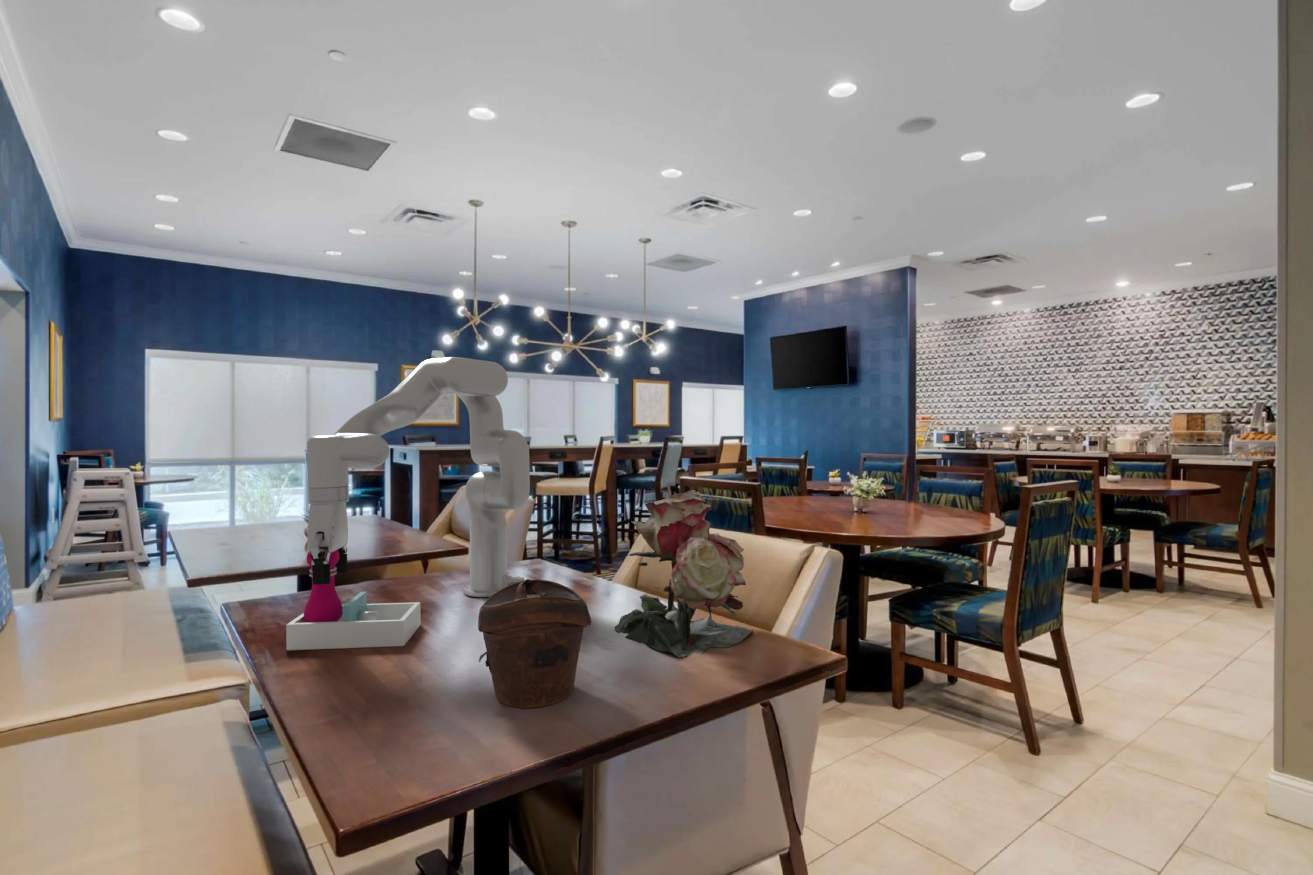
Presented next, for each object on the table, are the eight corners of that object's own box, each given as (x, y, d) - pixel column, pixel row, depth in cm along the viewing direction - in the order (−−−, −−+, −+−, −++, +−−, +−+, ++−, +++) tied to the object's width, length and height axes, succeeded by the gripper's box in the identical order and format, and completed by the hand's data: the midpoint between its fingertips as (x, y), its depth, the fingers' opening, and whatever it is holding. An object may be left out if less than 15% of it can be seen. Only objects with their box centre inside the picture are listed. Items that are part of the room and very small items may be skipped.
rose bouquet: (694, 667, 120) (694, 501, 120) (601, 629, 143) (600, 490, 142) (785, 638, 137) (785, 492, 136) (689, 608, 159) (689, 483, 159)
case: (536, 661, 123) (534, 565, 122) (615, 689, 110) (614, 582, 109) (451, 693, 109) (449, 584, 108) (531, 729, 96) (529, 606, 96)
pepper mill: (314, 642, 131) (313, 540, 131) (297, 634, 135) (296, 537, 135) (349, 633, 137) (349, 536, 136) (332, 626, 141) (331, 532, 141)
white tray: (420, 624, 146) (420, 602, 146) (403, 645, 132) (403, 620, 132) (314, 628, 143) (314, 605, 143) (286, 650, 129) (286, 624, 129)
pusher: (384, 622, 143) (384, 591, 143) (368, 638, 132) (367, 604, 132) (361, 623, 143) (360, 591, 143) (342, 639, 132) (342, 605, 132)
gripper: (325, 491, 145) (327, 569, 145) (291, 501, 127) (293, 589, 128) (361, 490, 145) (363, 567, 146) (332, 500, 128) (334, 588, 129)
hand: (330, 577), depth 137 cm, fingers open, 9 cm apart
